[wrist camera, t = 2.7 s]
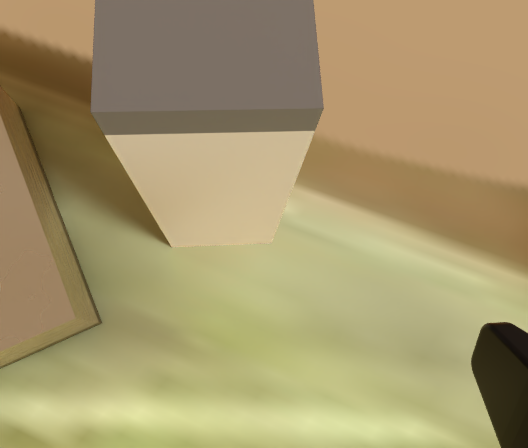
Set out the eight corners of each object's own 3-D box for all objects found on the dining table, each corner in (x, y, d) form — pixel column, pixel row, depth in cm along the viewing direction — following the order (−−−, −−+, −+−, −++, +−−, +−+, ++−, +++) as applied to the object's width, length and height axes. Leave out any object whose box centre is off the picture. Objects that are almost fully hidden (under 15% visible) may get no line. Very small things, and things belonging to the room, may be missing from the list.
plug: (271, 243, 21) (323, 108, 9) (171, 247, 21) (90, 112, 9) (265, 151, 22) (305, -75, 10) (171, 154, 22) (98, -78, 10)
